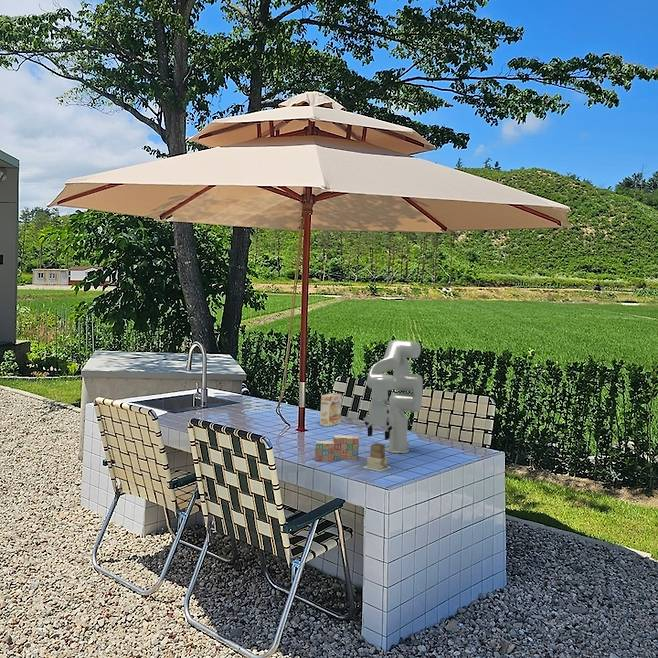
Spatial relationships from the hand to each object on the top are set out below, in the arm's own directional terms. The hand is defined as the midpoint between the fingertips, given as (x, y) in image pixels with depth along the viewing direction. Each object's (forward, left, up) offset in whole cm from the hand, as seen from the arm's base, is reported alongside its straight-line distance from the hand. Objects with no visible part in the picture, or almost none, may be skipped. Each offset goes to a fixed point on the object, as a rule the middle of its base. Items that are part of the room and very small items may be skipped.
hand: (378, 437), depth 332 cm
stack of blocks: (-1, -25, -16) cm, 30 cm away
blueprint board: (0, 0, -16) cm, 16 cm away
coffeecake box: (-73, -82, -16) cm, 111 cm away
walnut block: (0, 0, -10) cm, 10 cm away
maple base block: (0, 0, -15) cm, 15 cm away
